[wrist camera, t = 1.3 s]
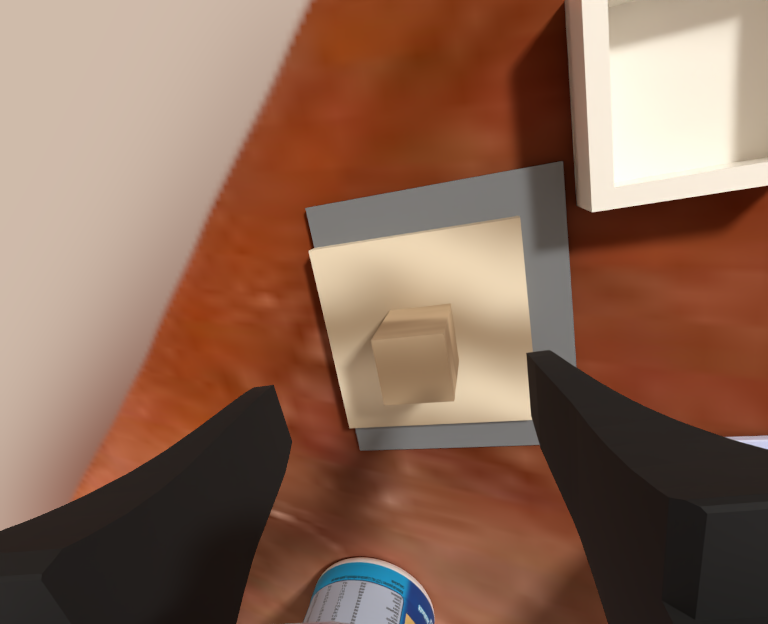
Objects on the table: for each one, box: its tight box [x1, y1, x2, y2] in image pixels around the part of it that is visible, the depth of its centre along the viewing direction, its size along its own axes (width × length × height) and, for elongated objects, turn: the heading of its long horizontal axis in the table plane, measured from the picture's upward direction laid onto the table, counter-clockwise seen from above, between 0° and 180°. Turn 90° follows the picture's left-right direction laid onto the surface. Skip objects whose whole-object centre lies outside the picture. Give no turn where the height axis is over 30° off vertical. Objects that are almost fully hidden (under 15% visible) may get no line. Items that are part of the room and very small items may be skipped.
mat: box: [305, 161, 576, 451], centre depth 22 cm, size 14×12×1 cm
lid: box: [309, 216, 533, 428], centre depth 20 cm, size 10×10×5 cm
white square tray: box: [565, 0, 768, 212], centre depth 16 cm, size 8×8×3 cm
